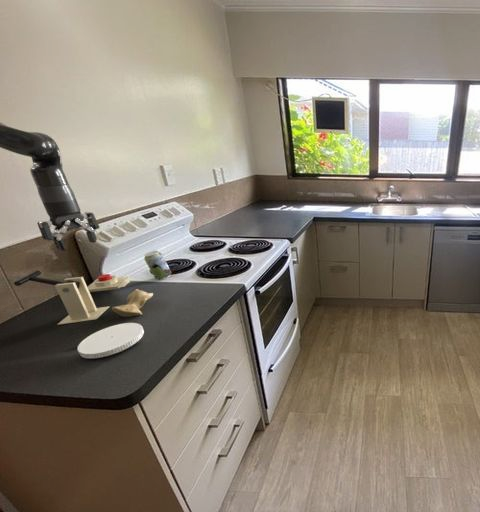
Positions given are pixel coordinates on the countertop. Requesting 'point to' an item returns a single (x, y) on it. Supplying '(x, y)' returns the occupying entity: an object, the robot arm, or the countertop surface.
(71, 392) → the countertop surface
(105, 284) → the block
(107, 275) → the stop button
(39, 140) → the robot arm
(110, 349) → the plastic lid
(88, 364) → the countertop surface
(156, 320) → the countertop surface
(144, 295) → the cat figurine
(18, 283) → the lever
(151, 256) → the beverage can
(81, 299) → the bracket
